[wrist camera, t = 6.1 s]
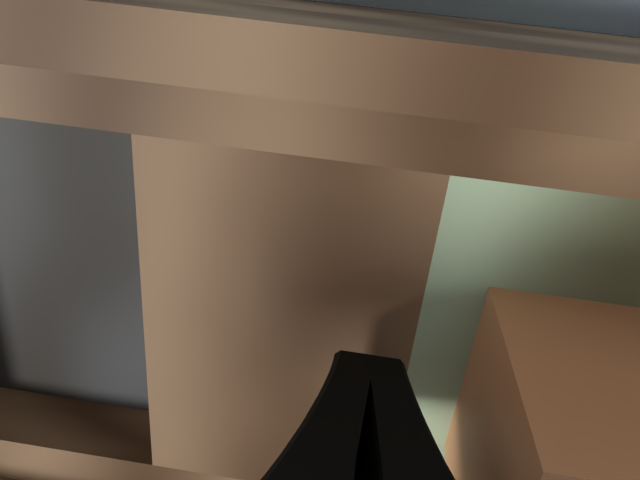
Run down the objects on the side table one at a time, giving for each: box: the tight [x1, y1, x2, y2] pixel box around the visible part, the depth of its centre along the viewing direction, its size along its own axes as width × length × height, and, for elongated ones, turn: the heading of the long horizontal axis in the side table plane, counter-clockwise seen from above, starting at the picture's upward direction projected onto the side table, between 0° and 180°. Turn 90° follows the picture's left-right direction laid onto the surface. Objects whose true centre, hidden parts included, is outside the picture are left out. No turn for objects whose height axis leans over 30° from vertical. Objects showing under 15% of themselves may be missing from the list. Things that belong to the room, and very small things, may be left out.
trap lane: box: [0, 0, 640, 480], centre depth 12 cm, size 25×14×4 cm, turn 85°
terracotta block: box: [444, 287, 640, 480], centre depth 10 cm, size 4×4×4 cm
